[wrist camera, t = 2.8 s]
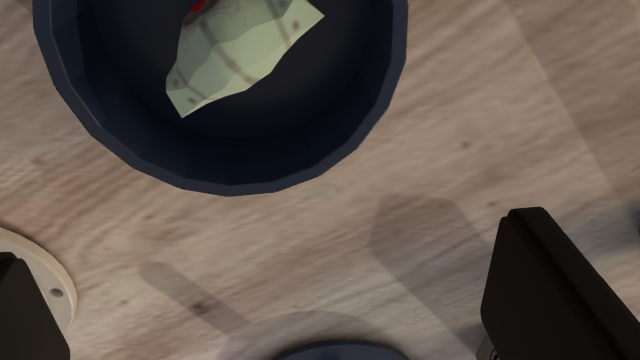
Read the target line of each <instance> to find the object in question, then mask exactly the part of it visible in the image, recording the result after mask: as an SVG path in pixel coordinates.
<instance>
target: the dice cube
mask: <svg viewBox="0 0 640 360" xmlns="http://www.w3.org/2000/svg"><path fill="white" fill-rule="evenodd" d="M476 358H477V360H500V359H499V357H498V355H497V353H496V350H495V348H494V346H493V344H492V342H491V340H490V338H489V336H488V334H487V336H486V338H485V340H484V341H483V343H482V345H481V347H480V349H479V351H478V352H477V354H476Z"/></svg>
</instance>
